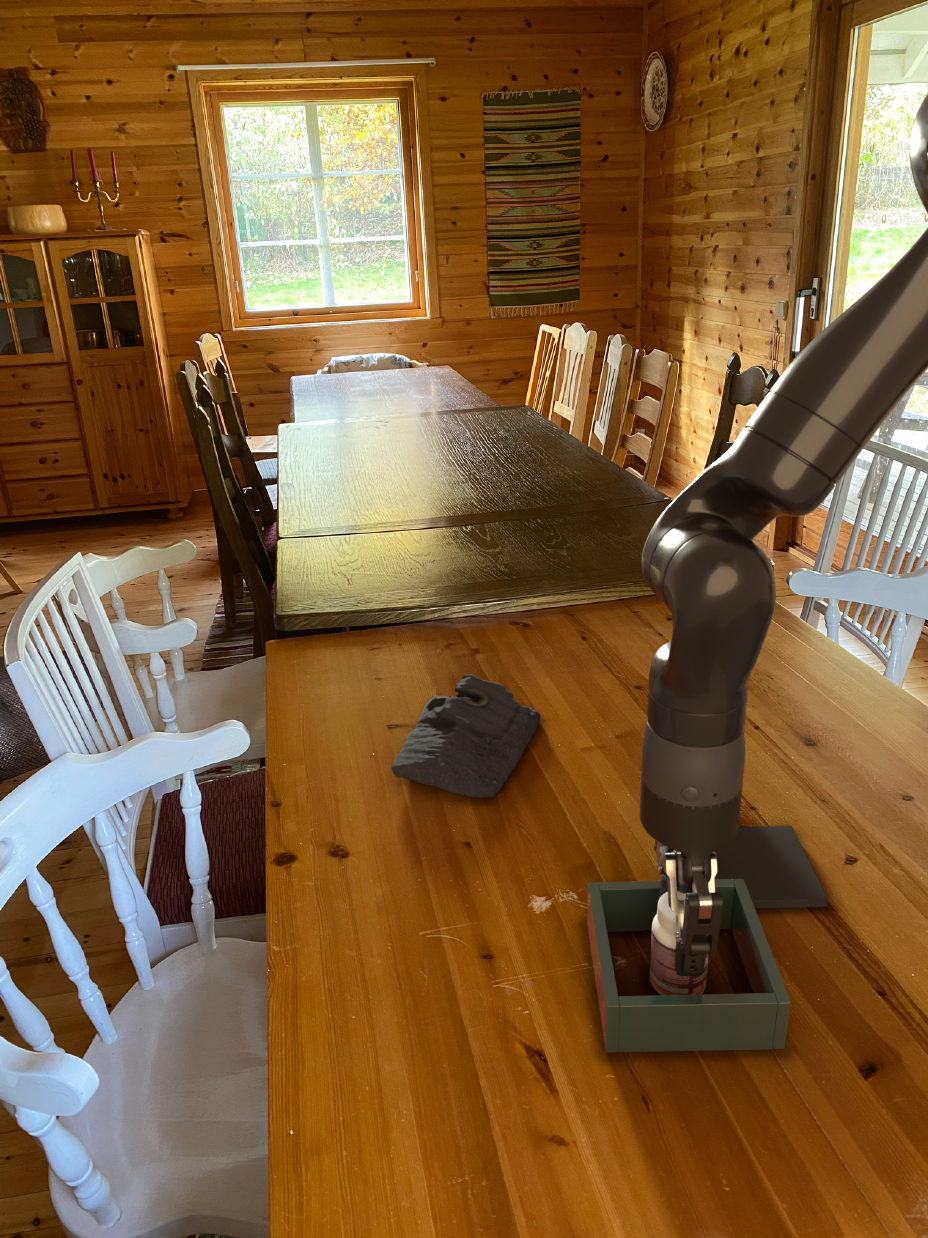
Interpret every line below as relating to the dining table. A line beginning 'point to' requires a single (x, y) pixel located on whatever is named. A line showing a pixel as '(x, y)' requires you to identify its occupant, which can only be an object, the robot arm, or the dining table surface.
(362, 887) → the dining table surface
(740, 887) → the box frame
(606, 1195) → the dining table surface
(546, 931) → the dining table surface
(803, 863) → the mat
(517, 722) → the dark slate chunk
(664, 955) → the pill bottle
